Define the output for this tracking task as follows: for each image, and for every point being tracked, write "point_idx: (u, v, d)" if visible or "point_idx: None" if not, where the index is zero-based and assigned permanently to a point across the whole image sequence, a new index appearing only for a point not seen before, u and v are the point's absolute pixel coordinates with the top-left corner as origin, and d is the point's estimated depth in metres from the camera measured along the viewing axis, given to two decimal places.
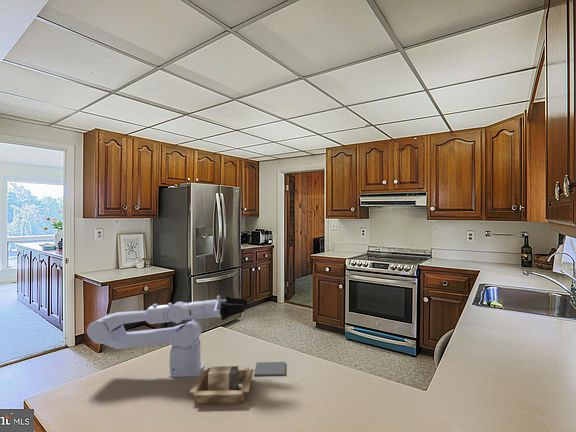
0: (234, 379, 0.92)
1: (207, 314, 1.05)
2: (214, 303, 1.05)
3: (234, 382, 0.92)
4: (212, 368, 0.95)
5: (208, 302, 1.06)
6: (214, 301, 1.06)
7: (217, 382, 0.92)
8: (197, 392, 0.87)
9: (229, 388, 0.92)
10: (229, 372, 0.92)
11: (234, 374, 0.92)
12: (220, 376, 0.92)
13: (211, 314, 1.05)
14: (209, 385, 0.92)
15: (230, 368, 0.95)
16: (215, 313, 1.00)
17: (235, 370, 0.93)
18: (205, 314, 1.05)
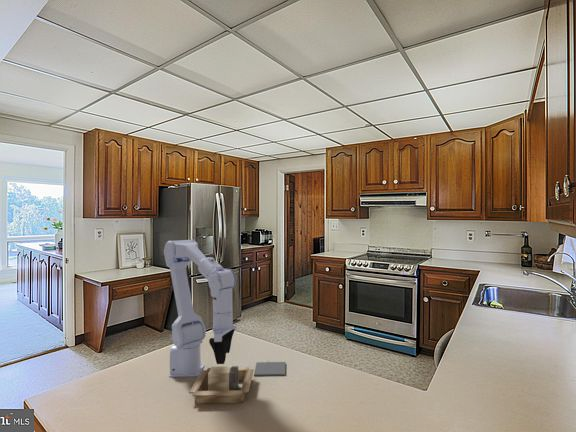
0: (234, 379, 0.92)
1: (217, 318, 0.92)
2: (228, 326, 0.92)
3: (234, 382, 0.92)
4: (212, 368, 0.95)
5: (230, 318, 0.93)
6: (230, 324, 0.93)
7: (217, 382, 0.92)
8: (197, 392, 0.87)
9: (229, 388, 0.92)
10: (229, 372, 0.92)
11: (234, 374, 0.92)
12: (220, 376, 0.92)
13: (216, 322, 0.92)
14: (209, 385, 0.92)
15: (230, 368, 0.95)
16: (217, 337, 0.87)
17: (235, 370, 0.93)
18: (217, 316, 0.92)
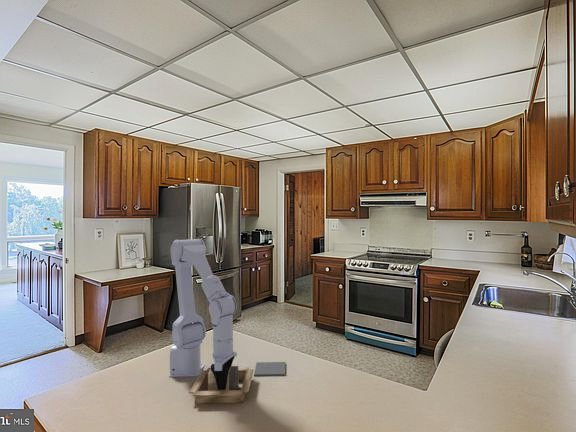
0: (234, 379, 0.92)
1: (217, 345, 0.92)
2: (228, 353, 0.92)
3: (234, 382, 0.92)
4: None
5: (230, 345, 0.93)
6: (231, 351, 0.93)
7: None
8: (197, 392, 0.87)
9: (229, 388, 0.92)
10: (229, 372, 0.92)
11: (234, 374, 0.92)
12: None
13: (216, 350, 0.92)
14: (209, 385, 0.92)
15: (230, 368, 0.95)
16: (218, 366, 0.87)
17: (235, 370, 0.93)
18: (217, 343, 0.92)
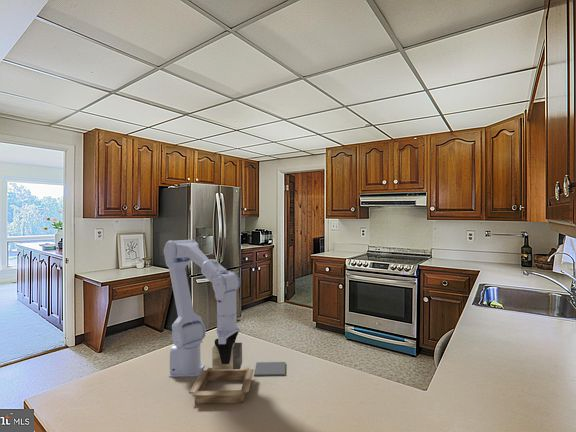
0: (238, 354, 0.93)
1: (221, 320, 0.93)
2: (232, 328, 0.93)
3: (238, 357, 0.93)
4: None
5: (234, 320, 0.94)
6: (234, 327, 0.94)
7: None
8: (197, 392, 0.87)
9: (233, 363, 0.93)
10: (233, 347, 0.93)
11: (238, 349, 0.93)
12: None
13: (220, 325, 0.93)
14: (213, 360, 0.93)
15: (234, 344, 0.96)
16: (222, 339, 0.88)
17: (239, 346, 0.95)
18: (221, 318, 0.93)
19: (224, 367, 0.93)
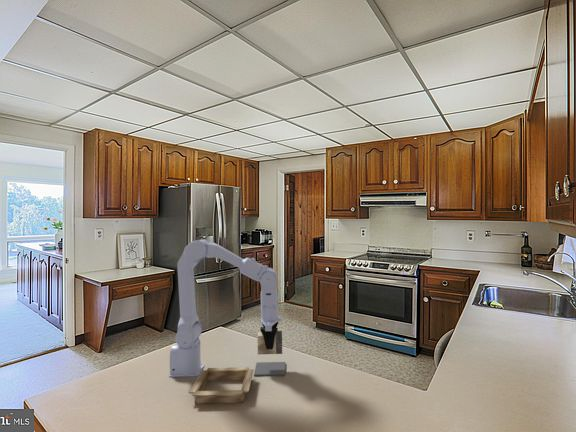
0: (280, 340, 1.05)
1: (265, 311, 1.05)
2: (275, 318, 1.05)
3: (280, 343, 1.05)
4: (259, 332, 1.08)
5: (276, 311, 1.06)
6: (276, 316, 1.06)
7: None
8: (197, 392, 0.87)
9: (276, 348, 1.05)
10: (276, 335, 1.05)
11: (280, 336, 1.05)
12: None
13: (265, 315, 1.05)
14: (258, 346, 1.05)
15: (276, 332, 1.08)
16: (268, 327, 1.00)
17: (280, 333, 1.07)
18: (265, 309, 1.05)
19: (268, 352, 1.05)
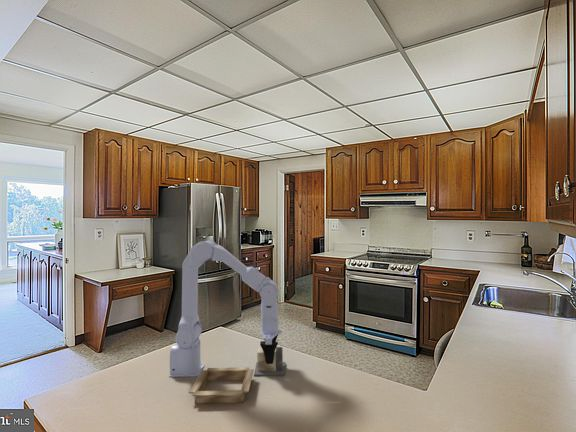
0: (280, 358, 1.05)
1: (265, 323, 1.05)
2: (275, 330, 1.05)
3: (280, 360, 1.05)
4: (260, 348, 1.08)
5: (276, 323, 1.06)
6: (277, 329, 1.06)
7: None
8: (197, 392, 0.87)
9: (276, 365, 1.05)
10: (276, 351, 1.05)
11: (280, 353, 1.05)
12: None
13: (265, 327, 1.05)
14: (258, 362, 1.05)
15: (276, 349, 1.08)
16: (268, 340, 1.00)
17: (280, 350, 1.06)
18: (265, 321, 1.05)
19: (268, 369, 1.05)
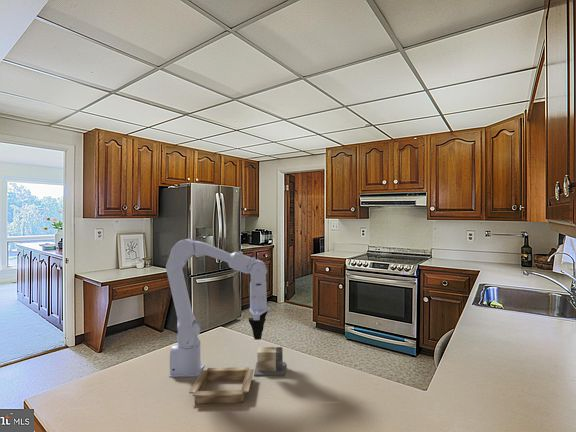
0: (280, 358, 1.05)
1: (254, 301, 1.08)
2: (263, 307, 1.08)
3: (280, 360, 1.05)
4: (260, 348, 1.08)
5: (265, 301, 1.09)
6: (265, 306, 1.09)
7: (265, 360, 1.05)
8: (197, 392, 0.87)
9: (276, 365, 1.05)
10: (276, 351, 1.05)
11: (280, 353, 1.05)
12: (267, 355, 1.05)
13: (253, 304, 1.08)
14: (258, 362, 1.05)
15: (276, 349, 1.08)
16: (256, 316, 1.03)
17: (280, 350, 1.06)
18: (254, 299, 1.08)
19: (268, 369, 1.05)
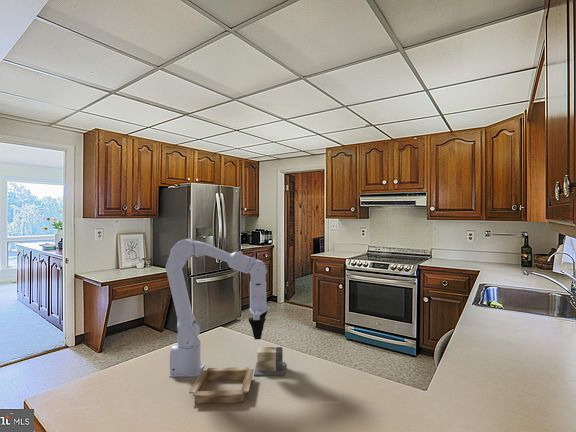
0: (280, 358, 1.05)
1: (254, 300, 1.08)
2: (263, 307, 1.08)
3: (280, 360, 1.05)
4: (260, 348, 1.08)
5: (265, 301, 1.09)
6: (265, 306, 1.09)
7: (265, 360, 1.05)
8: (197, 392, 0.87)
9: (276, 365, 1.05)
10: (276, 351, 1.05)
11: (280, 353, 1.05)
12: (267, 355, 1.05)
13: (253, 304, 1.08)
14: (258, 362, 1.05)
15: (276, 349, 1.08)
16: (256, 316, 1.03)
17: (280, 350, 1.06)
18: (254, 299, 1.08)
19: (268, 369, 1.05)
